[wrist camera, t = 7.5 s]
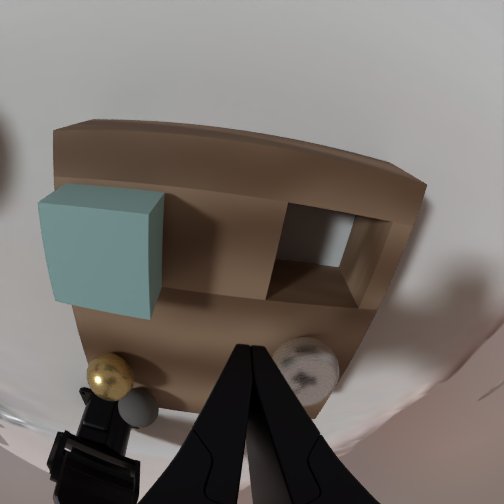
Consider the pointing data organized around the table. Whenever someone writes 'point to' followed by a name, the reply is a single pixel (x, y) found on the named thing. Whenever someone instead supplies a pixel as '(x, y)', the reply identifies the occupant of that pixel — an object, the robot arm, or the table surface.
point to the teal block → (104, 247)
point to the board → (238, 246)
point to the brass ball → (110, 377)
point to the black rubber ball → (138, 408)
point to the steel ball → (308, 368)
